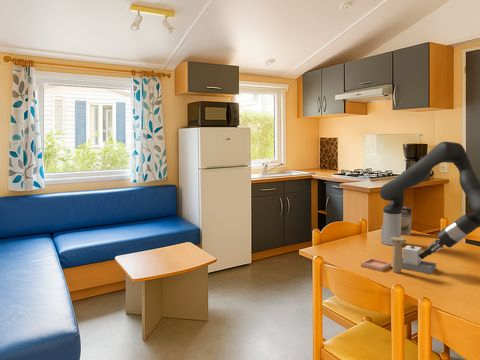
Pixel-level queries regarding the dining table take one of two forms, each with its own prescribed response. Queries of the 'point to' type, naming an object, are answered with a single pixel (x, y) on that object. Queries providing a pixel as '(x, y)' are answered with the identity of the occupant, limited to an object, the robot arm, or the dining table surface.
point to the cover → (411, 255)
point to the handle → (397, 253)
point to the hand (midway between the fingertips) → (420, 257)
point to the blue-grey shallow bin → (420, 267)
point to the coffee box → (406, 220)
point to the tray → (376, 264)
